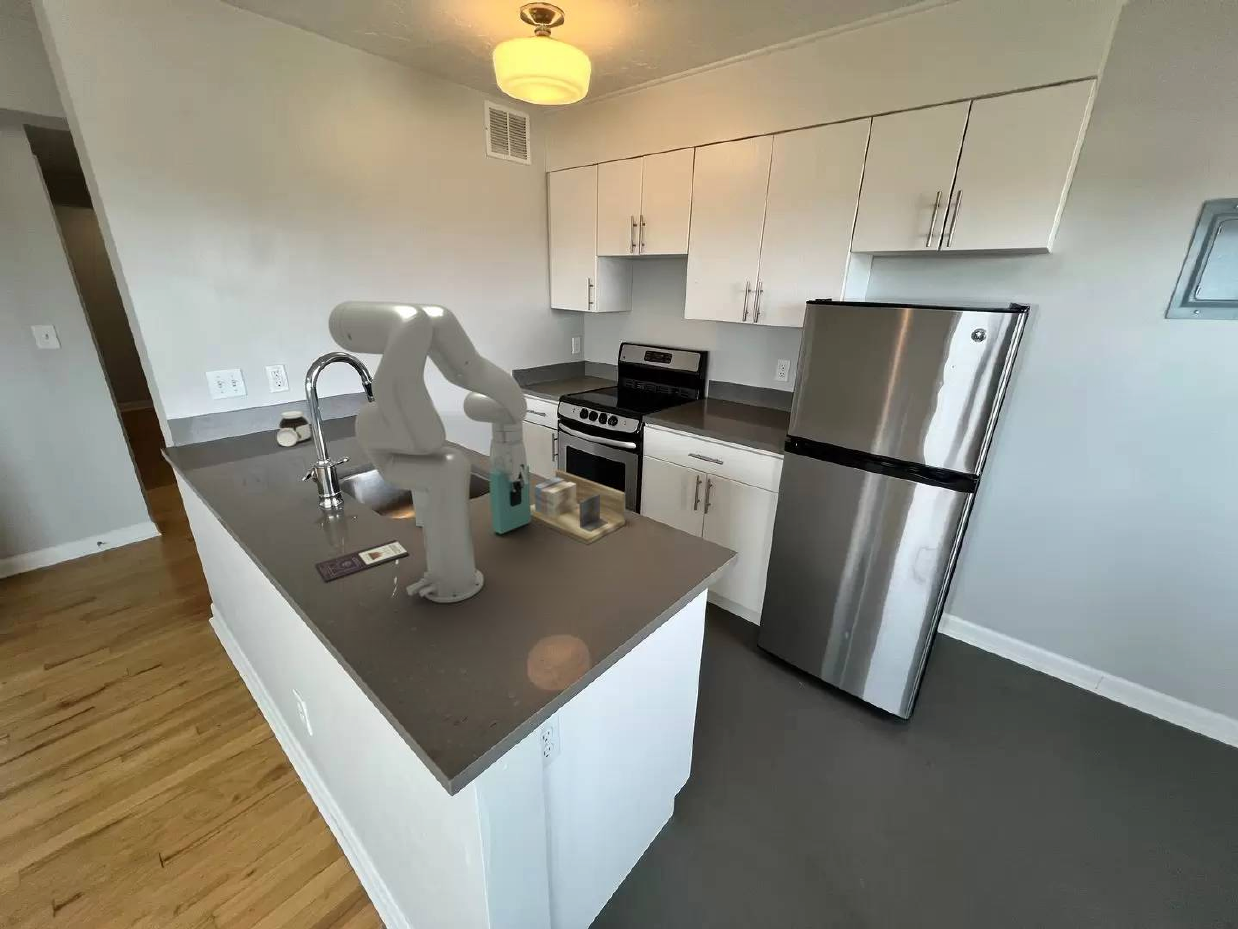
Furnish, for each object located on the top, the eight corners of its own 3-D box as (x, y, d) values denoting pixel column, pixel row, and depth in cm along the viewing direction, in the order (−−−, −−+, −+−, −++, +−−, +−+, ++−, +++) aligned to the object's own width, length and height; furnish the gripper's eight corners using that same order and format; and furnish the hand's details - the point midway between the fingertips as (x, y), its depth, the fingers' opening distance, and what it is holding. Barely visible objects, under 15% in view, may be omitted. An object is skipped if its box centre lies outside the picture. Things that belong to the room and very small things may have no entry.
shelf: (587, 544, 126) (587, 510, 123) (520, 514, 142) (518, 483, 139) (624, 524, 137) (625, 492, 134) (559, 498, 153) (558, 469, 150)
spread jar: (310, 436, 208) (304, 409, 204) (315, 443, 200) (309, 415, 196) (275, 441, 200) (269, 413, 197) (279, 449, 192) (273, 419, 188)
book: (500, 534, 128) (497, 475, 123) (492, 529, 131) (488, 472, 125) (530, 521, 136) (528, 466, 131) (522, 518, 138) (520, 463, 133)
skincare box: (436, 528, 133) (430, 476, 128) (414, 526, 134) (407, 475, 129) (449, 514, 141) (444, 465, 136) (429, 513, 142) (422, 464, 137)
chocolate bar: (315, 564, 115) (395, 539, 126) (315, 567, 115) (395, 543, 126) (325, 581, 108) (408, 553, 120) (326, 584, 109) (409, 557, 120)
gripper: (475, 431, 127) (480, 498, 133) (517, 444, 117) (520, 516, 123) (499, 426, 133) (502, 490, 139) (541, 438, 123) (543, 507, 129)
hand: (510, 501), depth 131 cm, fingers closed on book, 3 cm apart
